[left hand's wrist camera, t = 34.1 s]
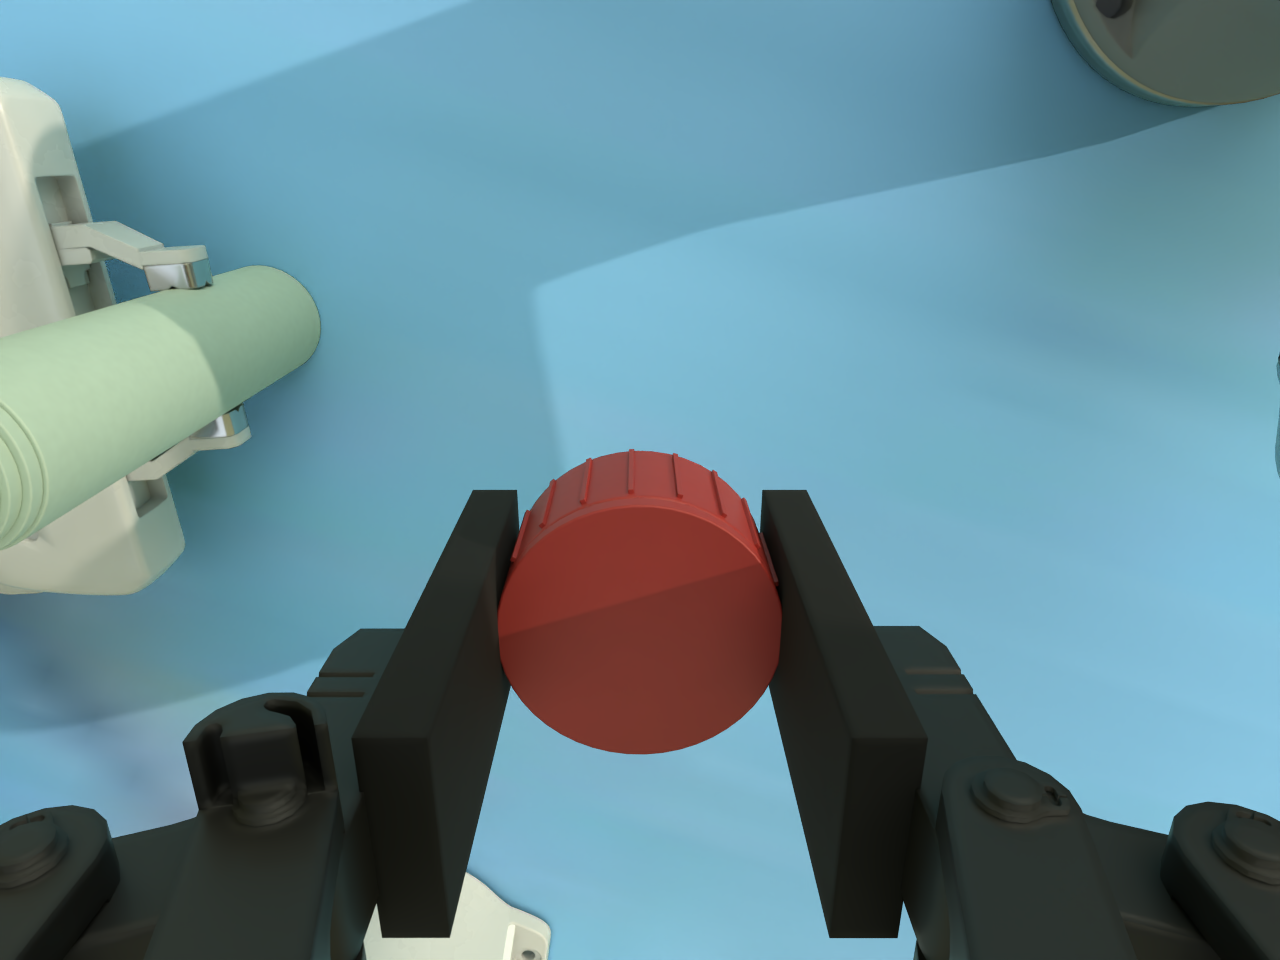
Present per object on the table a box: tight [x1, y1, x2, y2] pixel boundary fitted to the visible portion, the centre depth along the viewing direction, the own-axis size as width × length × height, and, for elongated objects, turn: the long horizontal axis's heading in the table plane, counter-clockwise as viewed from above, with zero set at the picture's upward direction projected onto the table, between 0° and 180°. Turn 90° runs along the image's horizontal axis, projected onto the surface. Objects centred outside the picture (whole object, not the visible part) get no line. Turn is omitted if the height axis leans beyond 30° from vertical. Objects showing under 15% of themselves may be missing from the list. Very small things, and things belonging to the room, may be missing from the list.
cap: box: [497, 449, 782, 754], centre depth 14 cm, size 4×4×2 cm
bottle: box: [0, 265, 320, 551], centre depth 28 cm, size 5×5×24 cm
